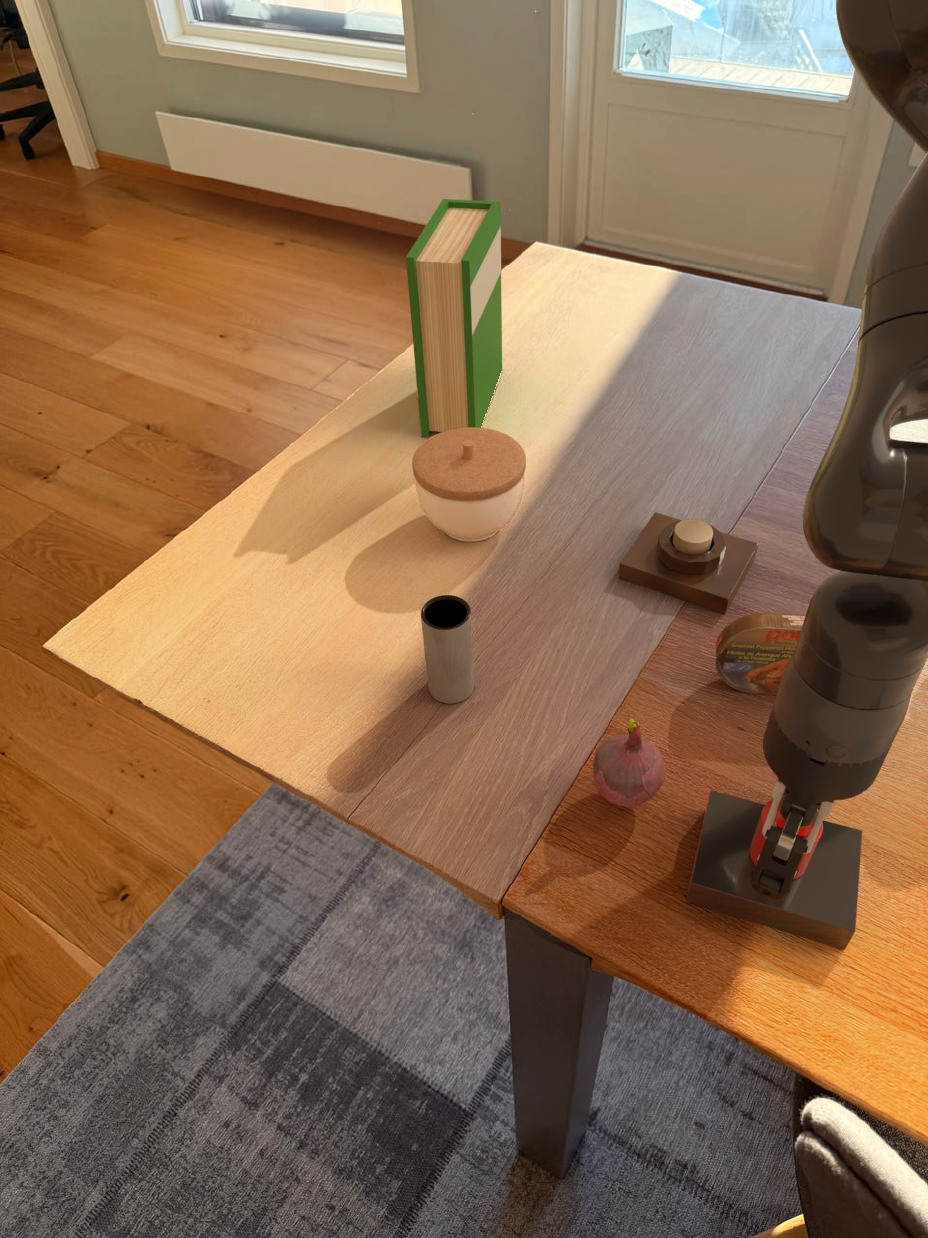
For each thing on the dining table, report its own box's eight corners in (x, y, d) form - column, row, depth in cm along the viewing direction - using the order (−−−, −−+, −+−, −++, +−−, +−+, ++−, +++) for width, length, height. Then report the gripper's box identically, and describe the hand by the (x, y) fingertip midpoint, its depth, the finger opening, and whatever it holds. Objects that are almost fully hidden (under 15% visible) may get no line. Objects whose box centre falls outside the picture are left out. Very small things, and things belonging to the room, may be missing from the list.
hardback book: (475, 442, 118) (469, 260, 101) (421, 436, 120) (405, 257, 103) (502, 373, 130) (500, 201, 113) (452, 369, 132) (443, 198, 115)
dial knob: (750, 826, 73) (763, 788, 69) (807, 837, 72) (823, 799, 68) (748, 874, 70) (761, 837, 66) (808, 886, 69) (824, 850, 65)
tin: (709, 691, 87) (723, 629, 81) (707, 666, 89) (721, 605, 83) (873, 703, 85) (900, 641, 79) (867, 678, 87) (893, 616, 81)
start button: (716, 538, 97) (718, 525, 96) (703, 560, 95) (705, 547, 94) (680, 527, 99) (682, 514, 98) (666, 548, 96) (668, 535, 95)
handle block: (852, 850, 74) (862, 830, 72) (845, 950, 68) (855, 931, 66) (705, 809, 78) (710, 789, 75) (685, 902, 72) (690, 883, 70)
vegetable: (655, 766, 81) (669, 694, 74) (664, 826, 77) (679, 755, 69) (587, 766, 81) (594, 693, 74) (591, 825, 77) (599, 754, 70)
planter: (418, 687, 89) (410, 612, 81) (451, 662, 91) (446, 587, 84) (451, 712, 86) (445, 637, 79) (484, 685, 88) (481, 610, 81)
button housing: (755, 558, 100) (762, 530, 97) (725, 614, 94) (731, 586, 91) (652, 526, 105) (656, 499, 102) (618, 578, 99) (621, 550, 96)
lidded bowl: (545, 510, 108) (547, 431, 100) (488, 571, 100) (485, 490, 92) (457, 478, 113) (452, 400, 105) (396, 534, 105) (387, 455, 98)
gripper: (807, 624, 64) (763, 761, 75) (742, 770, 56) (704, 900, 67) (919, 661, 61) (856, 798, 73) (869, 821, 53) (806, 947, 64)
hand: (783, 847), depth 70 cm, fingers open, 8 cm apart
